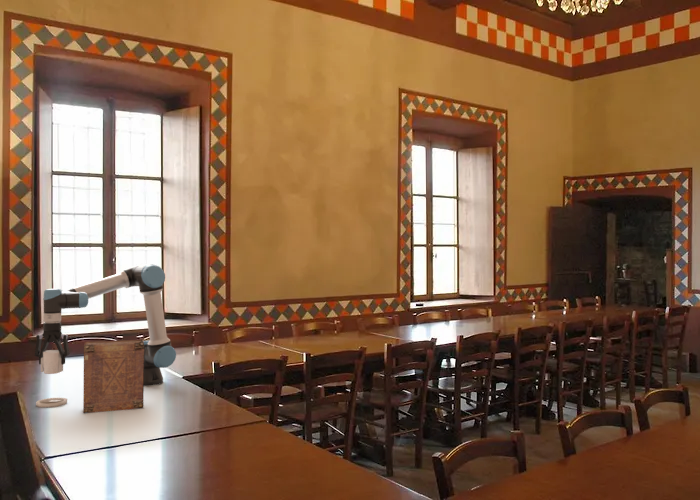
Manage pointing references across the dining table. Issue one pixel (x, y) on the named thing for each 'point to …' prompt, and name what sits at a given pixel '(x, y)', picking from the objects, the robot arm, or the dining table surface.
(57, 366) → the white cup
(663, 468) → the dining table surface
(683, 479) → the dining table surface
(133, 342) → the book
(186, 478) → the dining table surface
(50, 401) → the beige saucer
